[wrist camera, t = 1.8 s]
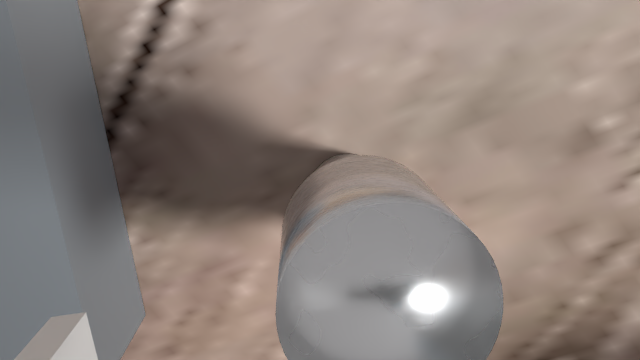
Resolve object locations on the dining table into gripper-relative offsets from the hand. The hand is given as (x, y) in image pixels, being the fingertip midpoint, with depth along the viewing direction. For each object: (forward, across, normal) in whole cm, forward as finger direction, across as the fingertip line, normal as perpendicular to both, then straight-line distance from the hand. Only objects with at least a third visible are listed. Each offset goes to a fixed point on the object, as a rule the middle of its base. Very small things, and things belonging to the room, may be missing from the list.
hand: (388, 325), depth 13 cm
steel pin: (+13, 0, 0) cm, 13 cm away
